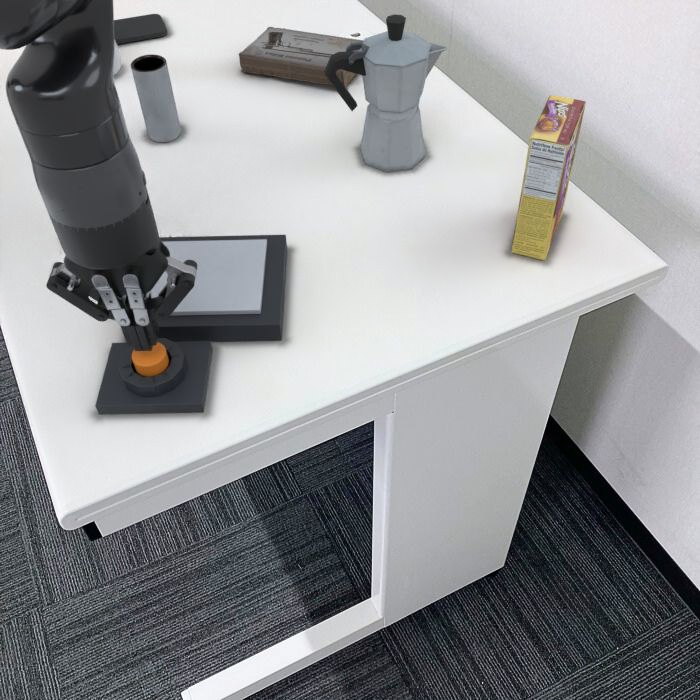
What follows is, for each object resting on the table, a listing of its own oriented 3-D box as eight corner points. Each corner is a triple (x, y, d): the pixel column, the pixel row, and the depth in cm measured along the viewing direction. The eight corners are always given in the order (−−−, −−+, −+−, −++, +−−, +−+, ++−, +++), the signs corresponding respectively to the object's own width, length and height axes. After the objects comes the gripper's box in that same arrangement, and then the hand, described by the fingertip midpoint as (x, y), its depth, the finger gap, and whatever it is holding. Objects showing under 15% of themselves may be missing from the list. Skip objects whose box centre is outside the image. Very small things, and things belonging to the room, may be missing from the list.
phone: (167, 31, 120) (73, 47, 117) (168, 36, 121) (75, 52, 118) (159, 12, 125) (68, 27, 122) (160, 17, 126) (69, 32, 122)
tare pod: (98, 414, 70) (90, 395, 68) (115, 351, 76) (107, 331, 73) (203, 412, 70) (198, 393, 68) (213, 349, 76) (208, 329, 73)
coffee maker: (430, 129, 102) (440, -4, 88) (447, 166, 96) (460, 29, 82) (323, 141, 100) (316, 8, 87) (333, 180, 94) (328, 43, 81)
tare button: (132, 377, 70) (128, 366, 69) (138, 351, 72) (134, 341, 71) (166, 376, 70) (163, 366, 69) (171, 351, 72) (168, 340, 71)
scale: (126, 344, 76) (119, 323, 74) (149, 253, 86) (143, 233, 83) (281, 340, 76) (279, 320, 74) (287, 251, 86) (285, 230, 83)
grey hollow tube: (169, 121, 104) (153, 50, 96) (187, 134, 102) (173, 62, 94) (141, 133, 102) (123, 62, 94) (159, 146, 100) (142, 75, 92)
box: (344, 91, 107) (343, 71, 105) (239, 73, 112) (236, 52, 110) (371, 59, 114) (371, 39, 112) (271, 43, 119) (269, 24, 117)
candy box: (526, 208, 90) (549, 92, 79) (562, 216, 89) (590, 100, 77) (507, 253, 85) (529, 136, 73) (544, 262, 83) (572, 145, 72)
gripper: (-7, 226, 54) (65, 376, 67) (176, 223, 54) (212, 374, 67) (22, 165, 59) (83, 316, 72) (189, 162, 59) (220, 314, 72)
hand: (145, 344), depth 69 cm, fingers closed
